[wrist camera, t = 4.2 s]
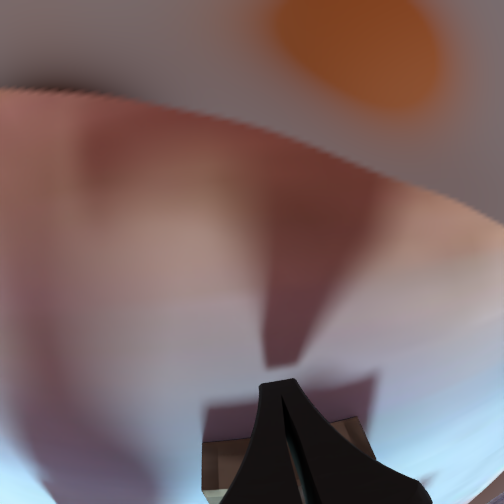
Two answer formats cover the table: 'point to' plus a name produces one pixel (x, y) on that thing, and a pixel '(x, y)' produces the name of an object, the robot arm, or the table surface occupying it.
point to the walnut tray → (233, 451)
